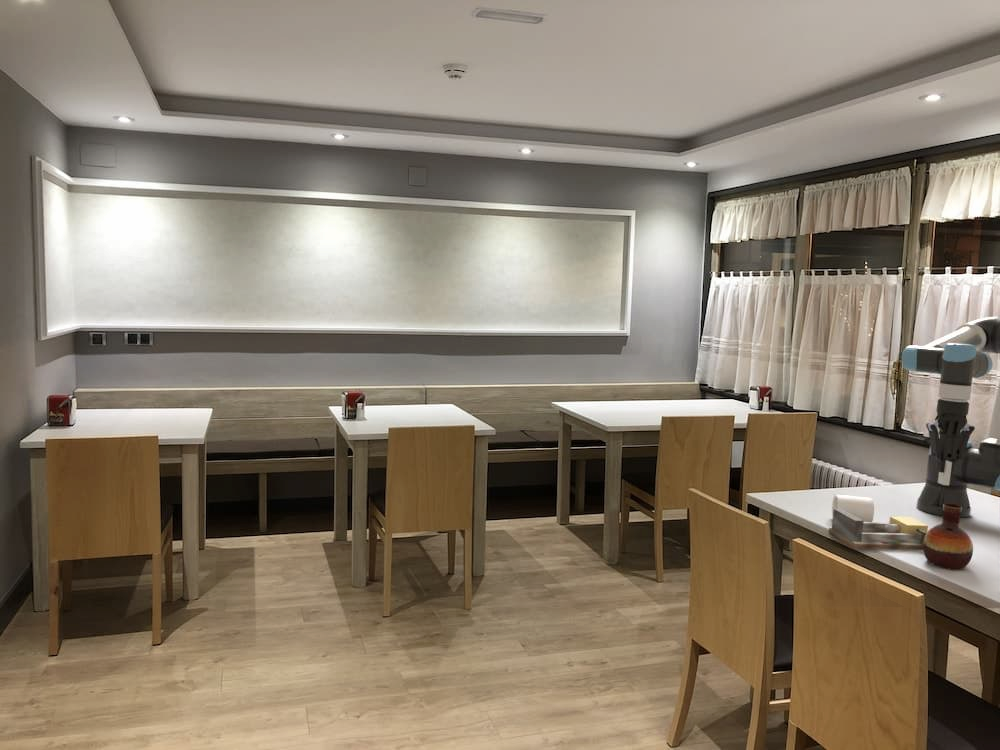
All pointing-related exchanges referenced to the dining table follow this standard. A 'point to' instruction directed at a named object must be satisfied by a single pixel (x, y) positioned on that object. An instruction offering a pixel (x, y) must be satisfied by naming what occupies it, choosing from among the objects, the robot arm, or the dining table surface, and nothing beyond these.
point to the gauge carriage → (906, 526)
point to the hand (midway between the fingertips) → (943, 483)
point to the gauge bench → (870, 533)
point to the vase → (948, 541)
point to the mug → (855, 506)
